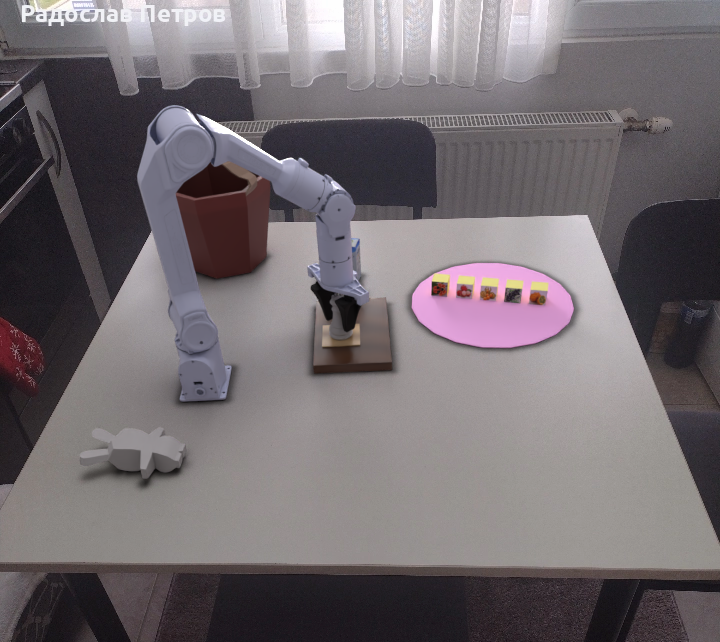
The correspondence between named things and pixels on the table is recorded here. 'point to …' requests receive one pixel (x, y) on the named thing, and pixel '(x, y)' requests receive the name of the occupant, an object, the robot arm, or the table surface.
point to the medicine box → (356, 256)
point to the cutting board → (354, 342)
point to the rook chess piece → (337, 322)
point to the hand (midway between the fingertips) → (340, 324)
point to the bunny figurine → (137, 451)
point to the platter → (492, 305)
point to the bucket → (225, 219)
